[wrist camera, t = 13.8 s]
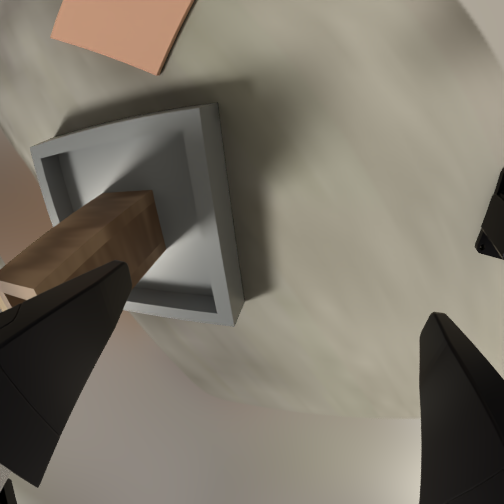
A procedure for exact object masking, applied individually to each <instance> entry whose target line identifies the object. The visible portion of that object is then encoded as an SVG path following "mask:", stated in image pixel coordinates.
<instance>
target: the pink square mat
mask: <svg viewBox="0 0 504 504" xmlns="http://www.w3.org/2000/svg"><path fill="white" fill-rule="evenodd" d="M194 1H195V0H63V2H62V5H61V7H60V10H59V13H58V16H57V19H56V21H55V24H54V27H53V31H52V34H51V37H50V38H53V39H56V40H60V41H63V42H66V43H70V44H73V45H76V46H79V47H82V48H85V49H88V50H91V51H94V52H97V53H100V54H103V55H105V56H108V57H111V58H114V59H116V60H119V61H122V62H124V63H127V64H129V65H132V66H134V67H137V68H139V69H142V70H144V71H147V72H149V73H152V74H154V75H160V73H161V70H162V68H163V65H164V63H165V61H166V58H167V56H168V54H169V52H170V49H171V47H172V45H173V43H174V41H175V38H176V36H177V34H178V32H179V30H180V28H181V26H182V24H183V22H184V20H185V18H186V16H187V14H188V12H189V10H190V8H191V6H192V4H193V2H194Z"/></svg>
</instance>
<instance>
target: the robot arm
mask: <svg viewBox="0 0 504 504" xmlns="http://www.w3.org/2000/svg"><path fill="white" fill-rule="evenodd" d="M481 227H482V228H481V231H480V234H479V236H478V238H477V241H476V243H475V248H476V250H477V251H478V253H481V254H484V255H488V256H492V257H495V258H499V259H503V260H504V169H503V170H502V171H501V173H500V176H499V179H498V183H497V186H496V189H495V192H494V195H493V196H492V198H491V201H490V204H489V207H488V209H487V212H486V215H485V218H484V220H483V223H482V226H481ZM482 244H483V246H482V247H481V248H480V246H481V245H482ZM131 290H132V280H131V275H130V271H129V266H128V264H127V263H126V262H124V261H119V260H113V261H111V262H109V263H106V264H104V265H102V266H100V267H97V268H95V269H93V270H91V271H88V272H86V273H84V274H82V275H80V276H77V277H75V278H73V279H71V280H69V281H66V282H64V283H62V284H60V285H58V286H56V287H53V288H51V289H49V290H47V291H45V292H43V293H41V294H39V295H37V296H34V297H32V298H30V299H28V300H26V301H24V302H23V303H20V304H18V305H16V306H14V307H12V308H10V309H7V310H5V311H3V312H1V313H0V504H17V501H16V498H15V494H14V490H13V486H12V481H11V480H10V479H9V478H8V477H9V475H10V473H11V472H13V473H15V474H16V475H18V476H19V477H21V478H22V479H24V480H26V481H27V482H29V483H30V484H32V485H34V486H35V487H37V488H38V487H39V485H40V483H41V481H42V478H43V476H44V473H45V471H46V468H47V466H48V464H49V461H50V459H51V456H52V454H53V452H54V449H55V447H56V445H57V443H58V440H59V438H60V435H61V434H62V431H63V429H64V427H65V425H66V423H67V421H68V418H69V416H70V414H71V412H72V410H73V408H74V406H75V404H76V402H77V400H78V398H79V395H80V393H81V392H82V390H83V387H84V386H85V384H86V382H87V380H88V378H89V376H90V374H91V372H92V370H93V368H94V366H95V364H96V362H97V360H98V358H99V357H100V355H101V353H102V351H103V349H104V347H105V345H106V344H107V342H108V340H109V338H110V336H111V334H112V332H113V331H114V329H115V327H116V324H117V322H118V320H119V318H120V315H121V313H122V311H123V308H124V306H125V304H126V302H127V299H128V297H129V295H130V293H131ZM419 389H420V407H421V437H422V438H421V439H422V455H421V456H422V457H421V486H420V501H419V504H504V380H503V378H502V377H501V376H500V375H499V374H498V372H497V371H496V370H495V369H494V367H493V366H492V365H491V364H490V363H489V362H488V360H487V359H486V358H485V357H484V356H483V355H482V353H481V352H480V351H479V350H478V349H477V348H476V347H475V345H474V344H473V343H472V342H471V341H470V340H469V339H468V338H467V336H466V335H465V334H464V333H463V332H462V331H461V330H460V329H459V328H458V327H457V326H456V324H455V323H454V322H453V321H452V320H451V319H450V318H449V317H448V316H447V315H446V314H445V313H439V312H433V313H431V314H430V316H429V318H428V320H427V322H426V324H425V326H424V328H423V330H422V332H421V334H420V373H419Z"/></svg>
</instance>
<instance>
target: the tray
mask: <svg viewBox="0 0 504 504" xmlns="http://www.w3.org/2000/svg"><path fill="white" fill-rule="evenodd" d="M30 151H31V155H32V159H33V163H34V166H35V170H36V174H37V178H38V181H39V185H40V188H41V191H42V195H43V198H44V201H45V204H46V207H47V210H48V213H49V216H50V219H51V222H52V225H53V227H54V226H56V225H57V224H59V223H60V222H61V221H63V220H64V219H65V218H67V217H68V216H70V215H71V214H72V213H74V212H75V211H77V210H78V209H80V208H81V207H83V206H84V205H85V204H87V203H88V202H90V201H91V200H93V199H94V198H96V197H97V196H99V195H100V194H102V193H112V192H126V191H142V190H152V191H153V196H154V200H155V204H156V209H157V213H158V217H159V222H160V226H161V230H162V234H163V238H164V242H165V246H166V250H165V252H164V253H163V254H162V255H161V256H160V257H159V258H158V260H157V261H156V262H155V263H154V264H153V265H152V267H151V268H150V269H149V270H148V271H147V273H146V274H145V275H144V276H143V277H142V278H141V280H140V281H139V282H138V283H137V284H136V286H135V287H134V288H133V289H132V290H131V293H130V295H129V297H128V299H127V302H126V304H125V306H124V308H123V310H126V311H132V312H137V313H143V314H149V315H155V316H161V317H168V318H174V319H181V320H187V321H194V322H202V323H209V324H217V325H225V326H233V327H234V326H235V324H236V322H237V319H238V317H239V314H240V312H241V309H242V307H243V305H244V295H243V288H242V281H241V274H240V267H239V260H238V253H237V246H236V239H235V232H234V224H233V217H232V210H231V202H230V195H229V187H228V180H227V172H226V164H225V157H224V149H223V141H222V133H221V125H220V117H219V109H218V103H210V104H203V105H195V106H188V107H182V108H176V109H170V110H164V111H158V112H153V113H148V114H143V115H138V116H133V117H128V118H124V119H119V120H115V121H111V122H107V123H103V124H99V125H95V126H91V127H87V128H84V129H80V130H77V131H73V132H70V133H66V134H63V135H60V136H57V137H54V138H51V139H49V140H46V141H44V142H41V143H39V144H37V145H34V146H32V147H30Z"/></svg>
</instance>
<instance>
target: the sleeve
mask: <svg viewBox="0 0 504 504" xmlns="http://www.w3.org/2000/svg"><path fill="white" fill-rule="evenodd" d="M165 250H166V246H165V242H164V238H163V234H162V230H161V226H160V222H159V217H158V213H157V209H156V204H155V200H154V196H153V191H152V190H142V191H126V192H112V193H102V194H100V195H99V196H97V197H96V198H94V199H93V200H91V201H90V202H88V203H87V204H85V205H84V206H83V207H81V208H80V209H78V210H77V211H75V212H74V213H72V214H71V215H70V216H68V217H67V218H65V219H64V220H63V221H61V222H60V223H59V224H57V225H56V226H54V227H53V228H52V229H51V230H49V231H48V232H46V233H45V234H44V235H42V236H41V237H40V238H39V239H37V240H36V241H35V242H33V243H32V244H31V245H30V246H28V247H27V248H26V249H25V250H23V251H22V252H21V253H20V254H19V255H17V256H16V257H15V258H14V259H12V260H11V261H10V262H9V263H8V264H6V265H5V266H4V267H3V268H2V269H1V270H0V308H1V310H2V312H3V311H5V310H7V309H10V308H12V307H14V306H16V305H18V304H20V303H23V302H24V301H26V300H28V299H30V298H32V297H34V296H37V295H39V294H41V293H43V292H45V291H47V290H49V289H51V288H53V287H56V286H58V285H60V284H62V283H64V282H66V281H69V280H71V279H73V278H75V277H77V276H80V275H82V274H84V273H86V272H88V271H91V270H93V269H95V268H97V267H100V266H102V265H104V264H106V263H109V262H111V261H113V260H119V261H124V262H126V263H127V264H128V266H129V271H130V275H131V280H132V289H133V288H134V287H135V286H136V284H137V283H138V282H139V281H140V280H141V278H142V277H143V276H144V275H145V274H146V273H147V271H148V270H149V269H150V268H151V267H152V265H153V264H154V263H155V262H156V261H157V260H158V258H159V257H160V256H161V255H162V254H163V253H164V252H165Z"/></svg>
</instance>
